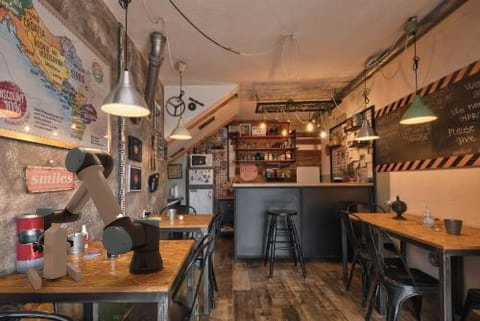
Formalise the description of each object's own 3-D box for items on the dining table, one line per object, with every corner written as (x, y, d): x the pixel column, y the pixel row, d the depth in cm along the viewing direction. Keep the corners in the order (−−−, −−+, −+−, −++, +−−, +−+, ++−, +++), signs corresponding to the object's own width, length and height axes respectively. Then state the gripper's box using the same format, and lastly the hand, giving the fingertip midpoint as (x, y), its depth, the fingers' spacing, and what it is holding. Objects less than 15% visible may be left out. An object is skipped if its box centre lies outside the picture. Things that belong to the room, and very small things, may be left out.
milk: (52, 279, 120) (53, 224, 122) (43, 277, 123) (44, 224, 124) (66, 274, 126) (67, 222, 127) (57, 273, 128) (58, 222, 130)
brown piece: (28, 277, 127) (28, 269, 127) (69, 269, 138) (70, 262, 138) (35, 289, 112) (35, 280, 112) (81, 280, 123) (81, 271, 123)
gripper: (72, 246, 145) (85, 253, 128) (20, 253, 131) (27, 263, 114) (72, 230, 146) (85, 236, 129) (20, 236, 132) (27, 243, 115)
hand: (57, 248), depth 121 cm, fingers closed on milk, 8 cm apart
